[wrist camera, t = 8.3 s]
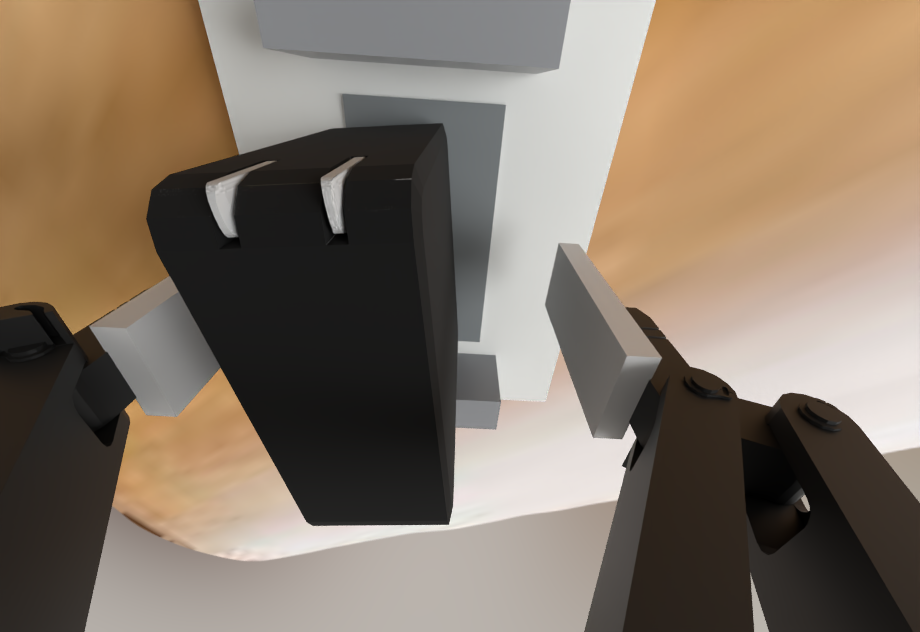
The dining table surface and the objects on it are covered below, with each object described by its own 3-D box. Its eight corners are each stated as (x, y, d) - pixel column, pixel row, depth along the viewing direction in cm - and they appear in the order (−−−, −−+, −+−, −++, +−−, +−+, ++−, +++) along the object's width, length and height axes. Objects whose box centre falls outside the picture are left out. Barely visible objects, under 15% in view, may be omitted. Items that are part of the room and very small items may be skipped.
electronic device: (381, 336, 19) (312, 538, 10) (337, 126, 13) (114, 188, 5) (458, 335, 18) (453, 537, 10) (447, 121, 13) (413, 175, 5)
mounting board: (203, -77, 11) (54, -173, 7) (649, -43, 12) (751, -116, 8) (311, 372, 22) (275, 437, 18) (541, 384, 23) (558, 451, 19)
